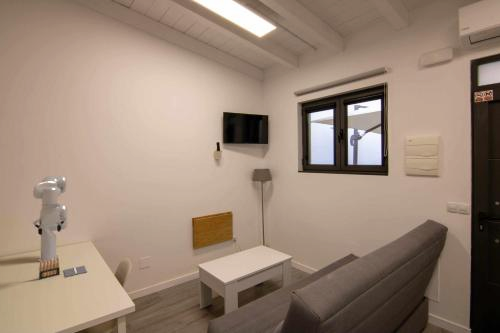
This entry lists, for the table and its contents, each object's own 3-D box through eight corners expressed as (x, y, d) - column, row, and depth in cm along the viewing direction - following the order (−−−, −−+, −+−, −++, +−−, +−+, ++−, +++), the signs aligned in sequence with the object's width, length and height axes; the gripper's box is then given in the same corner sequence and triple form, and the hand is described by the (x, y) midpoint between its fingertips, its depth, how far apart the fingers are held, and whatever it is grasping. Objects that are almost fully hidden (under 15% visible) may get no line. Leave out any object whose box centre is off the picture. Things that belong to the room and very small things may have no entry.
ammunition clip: (59, 273, 170) (59, 256, 170) (59, 274, 169) (59, 256, 169) (38, 279, 162) (38, 260, 163) (39, 279, 161) (39, 261, 161)
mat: (63, 270, 175) (63, 269, 175) (84, 266, 183) (84, 265, 183) (65, 277, 165) (65, 276, 165) (86, 272, 172) (86, 271, 172)
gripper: (63, 204, 172) (63, 229, 172) (31, 207, 158) (30, 235, 158) (67, 205, 168) (67, 231, 168) (35, 208, 154) (34, 236, 154)
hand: (49, 232), depth 163 cm, fingers open, 9 cm apart
